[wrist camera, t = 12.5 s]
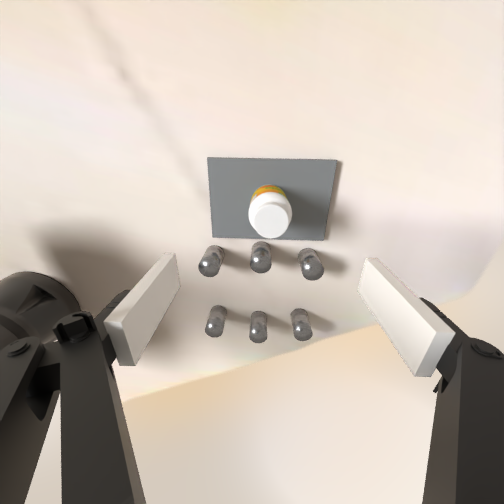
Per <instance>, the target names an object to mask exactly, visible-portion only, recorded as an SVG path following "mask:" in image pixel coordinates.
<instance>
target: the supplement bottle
mask: <svg viewBox="0 0 504 504" xmlns="http://www.w3.org/2000/svg"><path fill="white" fill-rule="evenodd" d="M291 218H292V209H291V206H290V203H289V201H288V199H287V197H286V195H285V193H284V192H283V191H282V189H280V188H279V187H277V186H275V185H270V184H268V185H263V186H261V187H259V188H258V189H257V190H256V191H255V192H254V194H253V195H252V198H251V202H250V207H249V221H250V223H251V225H252V227H253V228H254V229H255V230H256V231H257V233H258V234H259V235H261V236H262V237H265V238H269V239H272V238H277V237H279V236H281V235H282V234H283V233H284V232H285V231H286V230H287V228H288V225H289V224H290V221H291Z"/></svg>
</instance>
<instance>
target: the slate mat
mask: <svg viewBox="0 0 504 504" xmlns="http://www.w3.org/2000/svg"><path fill="white" fill-rule="evenodd" d="M207 162H208V176H209V191H210V206H211V221H212V235H213V237H217V238H251V239H269V238H265V237H262V236H261V235H259V234H258V233H257V231H256V230H255V229H254V228H253V227H252V225H251V223H250V221H249V207H250V202H251V198H252V195H253V194H254V192H255V191H256V190H257V189H258V188H259V187H261V186H263V185H268V184H270V185H275V186H277V187H279V188H280V189H282V191H283V192H284V193H285V195H286V197H287V199H288V201H289V203H290V206H291V209H292V218H291V221H290V224H289V225H288V228H287V230H286V231H285V232H284V233H283V234H282V235H281V236H279V237H277V238H272V239H285V240H320V241H323V240H324V235H325V229H326V223H327V217H328V211H329V205H330V199H331V193H332V188H333V182H334V176H335V170H336V164H337V160H322V159H268V158H214V157H208V158H207Z"/></svg>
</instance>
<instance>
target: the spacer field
mask: <svg viewBox="0 0 504 504" xmlns="http://www.w3.org/2000/svg"><path fill="white" fill-rule="evenodd" d="M223 258H224V251H223V250H222V248H220V247H219V246H215V245H214V246H210V247H208V248H207V250H206V252H205V254H204V256H203V258H202V260H201V261H200V263H199V271H200V272H201V274H203V275H204V276H207V277H213V276H215V275H217V274H218V272H219V269H220V266H221V263H222V260H223ZM298 261H299V264H300V267H301V270H302V273H303V276H304V277H305V278H306V279H308V280H317V279H319V278H321V277H322V275H323V273H324V268H323V266H322V264H321V262H320V260H319V258H318V256H317V254H316V252H315V251H314V250H313V249H310V248H306V249H303V250H301V251H300V252H299V254H298ZM250 265H251V268H252V270H253V271H255V272H257V273H265V272H267V271H268V270H269V269H270V268H271V265H272V264H271V251H270V246H269V245H268V244H267V243H265V242H257V243H255V244H254V245H253V246H252V252H251V262H250ZM226 314H227V311H226V309H225V308H224V307H222V306H214V307H213V308H212V309H211V312H210V315H209V318H208V321H207V325H206V328H205V332H206V334H207V335H209V336H211V337H219V336H221V335H222V333H223V328H224V324H225V319H226ZM291 319H292V325H293V331H294V336H295V338H296V339H297V340H299V341H306V340H309V339H310V338H311V337H312V330H311V326H310V323H309V319H308V315H307V312H306V311H305V310H303V309H295V310H294V311H292V313H291ZM249 337H250V340H251V341H253V342H255V343H262V342H264V341H265V340H266V339H267V318H266V314H265V313H263V312H261V311H256V312H253V313H252V314H251V319H250V334H249Z"/></svg>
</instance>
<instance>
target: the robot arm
mask: <svg viewBox="0 0 504 504" xmlns="http://www.w3.org/2000/svg"><path fill="white" fill-rule="evenodd" d="M179 288H180V281H179V274H178V268H177V261H176V255H175V253H164V254H163V255H162V256H161V257H160V259H159V260H158V261H157V262H156V263H155V264H154V265H153V266H152V268H151V269H150V270H149V271H148V272H147V273H146V274H145V275H144V277H143V278H142V279H141V280H140V281H139V282H138V283H137V284H136V285H135V287H134V288H133V289H132V290H125V291H123V292H122V293H120V294H118V295H117V296H116V297H115V298H114V299H113V300H112V301H111V303H109V304H108V305H107V306H106V308H104V309H103V310H102V311H101V313H100V314H99V315H98V316H97V317H96V318H95V319H93V317H92V315H91V313H90V312H86V311H80V307H79V305H78V302H77V301H76V299H75V298H74V296H73V295H72V294H71V293H70V292H69V291H68V290H67V289H66V288H65V287H64V286H62V285H61V284H60V283H58V282H56V281H55V280H53V279H51V278H49V277H47V276H44V275H41V274H37V273H33V272H18V273H15V274H12V275H10V276H8V277H6V278H4V279H2V280H1V281H0V504H24V503H25V499H26V497H27V494H28V490H29V487H30V484H31V481H32V478H33V475H34V472H35V469H36V466H37V462H38V459H39V456H40V453H41V450H42V447H43V444H44V440H45V437H46V434H47V431H48V428H49V425H50V422H51V419H52V416H53V413H54V409H55V406H56V403H57V400H58V397H59V394H61V468H62V469H61V471H62V472H61V476H62V504H146V501H145V497H144V493H143V489H142V485H141V481H140V477H139V472H138V468H137V465H136V460H135V456H134V452H133V448H132V444H131V440H130V436H129V432H128V428H127V424H126V420H125V416H124V412H123V408H122V403H121V399H120V395H119V391H118V387H117V383H116V379H115V375H114V371H113V368H112V365H111V364H112V363H113V361H114V360H115V358H116V357H117V360H118V363H119V365H120V366H136V364H137V362H138V360H139V359H140V357H141V355H142V353H143V352H144V350H145V348H146V346H147V345H148V343H149V341H150V339H151V337H152V336H153V334H154V332H155V330H156V329H157V327H158V325H159V323H160V322H161V320H162V318H163V316H164V314H165V313H166V311H167V309H168V307H169V306H170V304H171V302H172V300H173V299H174V297H175V295H176V293H177V291H178V290H179ZM357 292H358V293H359V295H360V296H361V298H362V299H363V301H364V302H365V304H366V305H367V307H368V308H369V310H370V311H371V313H372V314H373V316H374V317H375V319H376V320H377V322H378V323H379V325H380V326H381V327H382V329H383V331H384V332H385V333H386V335H387V336H388V338H389V339H390V341H391V343H392V344H393V345H394V347H395V348H396V350H397V351H398V353H399V354H400V356H401V357H402V359H403V360H404V362H405V363H406V365H407V366H408V368H409V369H410V371H411V372H412V374H413V375H414V376H422V377H431V376H432V374H433V372H434V371H435V369H436V368H437V369H438V371H439V372H440V373H441V374H442V377H441V379H440V380H439V382H438V384H437V385H436V387H435V389H434V390H433V392H435V393H436V392H437V391H438V393H437V401H436V407H435V415H434V422H433V429H432V437H431V444H430V451H429V459H428V466H427V473H426V480H425V487H424V495H423V502H422V504H504V354H503V353H502V352H501V351H500V350H499V349H497V348H496V347H494V346H493V345H491V344H489V343H487V342H485V341H483V340H479V339H476V338H470V337H468V336H467V335H466V334H465V333H464V332H463V331H462V330H461V329H459V327H458V326H456V325H455V324H454V323H453V322H452V321H451V320H450V319H449V318H447V317H446V316H445V315H444V314H443V313H442V312H440V310H439V309H438V308H437V307H436V306H434V305H433V304H432V303H430V302H429V301H427V300H425V299H424V298H418V297H417V296H416V295H415V294H414V293H413V292H412V291H411V290H410V289H409V288H408V287H407V286H406V285H405V284H404V283H403V282H402V281H401V280H400V279H399V278H397V277H396V276H395V275H394V274H393V273H392V272H391V271H390V270H389V269H388V268H387V267H386V266H385V265H384V264H383V263H382V262H381V261H380V260H379V259H378V258H366V260H365V264H364V267H363V271H362V275H361V279H360V282H359V286H358V290H357ZM55 340H58V341H56V342H54V341H55Z"/></svg>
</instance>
